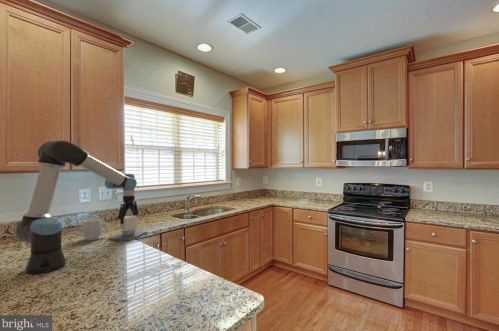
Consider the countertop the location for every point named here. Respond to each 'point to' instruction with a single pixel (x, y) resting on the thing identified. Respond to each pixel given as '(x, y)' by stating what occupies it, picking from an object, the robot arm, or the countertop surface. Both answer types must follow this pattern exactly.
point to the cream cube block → (129, 223)
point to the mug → (93, 228)
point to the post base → (124, 238)
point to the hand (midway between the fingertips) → (128, 226)
